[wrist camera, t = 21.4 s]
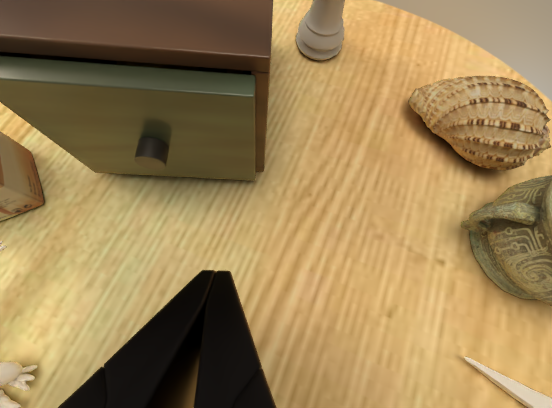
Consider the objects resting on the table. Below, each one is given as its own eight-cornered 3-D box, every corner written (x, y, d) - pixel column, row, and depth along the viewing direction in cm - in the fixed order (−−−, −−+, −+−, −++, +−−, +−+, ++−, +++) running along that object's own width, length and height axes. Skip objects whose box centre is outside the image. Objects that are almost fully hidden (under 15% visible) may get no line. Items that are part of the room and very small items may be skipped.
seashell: (397, 173, 25) (538, 185, 20) (401, 131, 20) (590, 135, 15) (409, 109, 27) (536, 108, 23) (415, 57, 22) (580, 43, 18)
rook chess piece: (293, 27, 26) (308, -82, 18) (337, 28, 26) (370, -79, 19) (297, 63, 24) (315, -40, 17) (343, 63, 25) (382, -38, 17)
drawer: (254, 196, 19) (253, 120, 11) (90, 188, 18) (-50, 101, 10) (262, 52, 23) (265, -81, 15) (130, 41, 23) (57, -104, 14)
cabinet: (263, 172, 21) (270, 57, 11) (97, 163, 20) (-66, 31, 10) (269, 42, 25) (278, -125, 15) (133, 31, 24) (46, -154, 14)
